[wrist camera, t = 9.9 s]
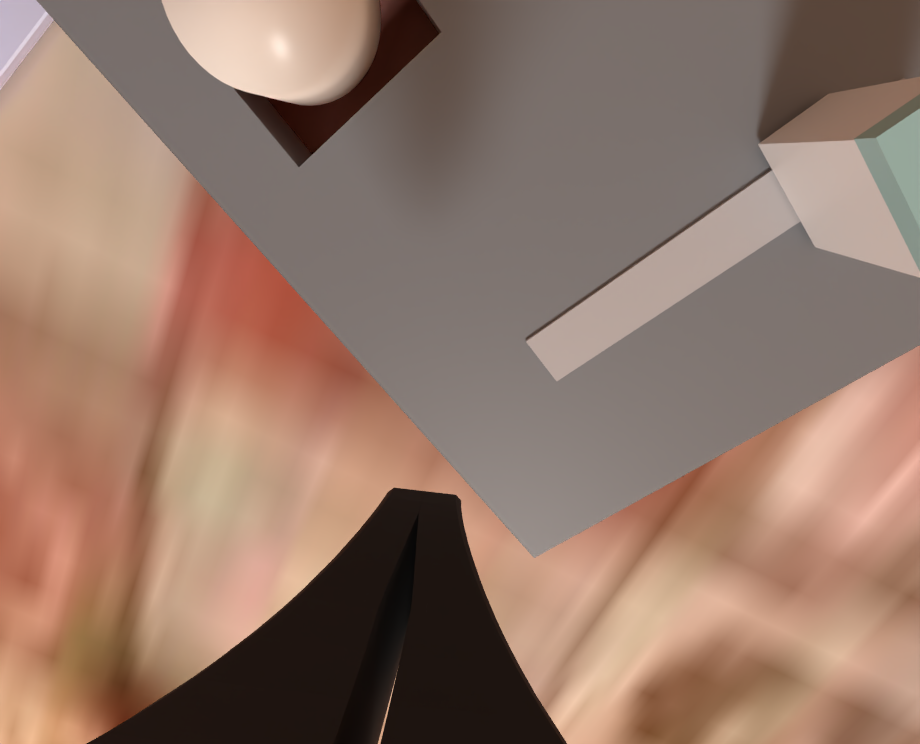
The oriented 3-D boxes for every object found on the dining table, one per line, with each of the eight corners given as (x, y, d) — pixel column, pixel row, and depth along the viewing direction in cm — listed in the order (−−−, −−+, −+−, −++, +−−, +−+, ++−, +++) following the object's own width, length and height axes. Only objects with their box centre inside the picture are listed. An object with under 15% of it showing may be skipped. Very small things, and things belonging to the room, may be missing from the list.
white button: (190, 2, 13) (115, -36, 11) (302, -129, 12) (249, -206, 10) (301, 139, 14) (257, 135, 12) (414, 30, 13) (393, -1, 11)
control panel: (76, 1, 15) (14, -22, 13) (734, -853, 9) (796, -1116, 7) (531, 521, 21) (534, 559, 19) (1110, 187, 15) (1201, 192, 13)
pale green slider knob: (752, 143, 13) (876, 138, 9) (830, 87, 13) (1003, 51, 8) (812, 252, 14) (952, 295, 10) (889, 204, 14) (1072, 227, 9)
